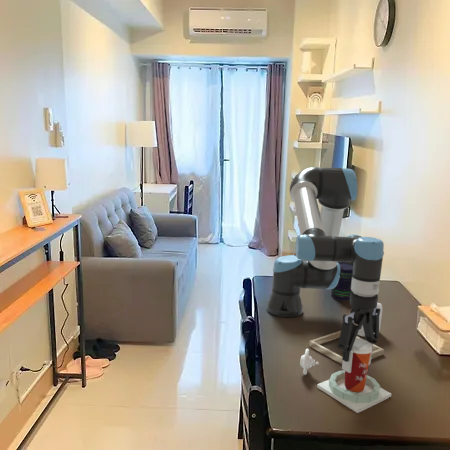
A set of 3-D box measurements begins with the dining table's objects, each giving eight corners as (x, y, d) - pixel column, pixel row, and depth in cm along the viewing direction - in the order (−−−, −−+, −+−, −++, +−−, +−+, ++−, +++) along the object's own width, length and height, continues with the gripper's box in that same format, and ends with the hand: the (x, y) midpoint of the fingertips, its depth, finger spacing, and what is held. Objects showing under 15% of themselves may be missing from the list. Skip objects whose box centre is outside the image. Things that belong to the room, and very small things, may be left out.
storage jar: (335, 291, 221) (338, 261, 218) (355, 296, 215) (358, 266, 212) (327, 297, 213) (330, 266, 210) (347, 302, 208) (350, 270, 204)
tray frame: (308, 346, 163) (309, 340, 163) (342, 334, 174) (343, 329, 173) (349, 368, 149) (349, 362, 149) (383, 354, 159) (383, 349, 159)
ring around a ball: (300, 366, 149) (302, 343, 147) (318, 369, 148) (320, 346, 146) (298, 378, 141) (300, 354, 140) (316, 381, 140) (319, 357, 139)
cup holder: (316, 387, 137) (317, 378, 136) (350, 373, 146) (350, 365, 145) (357, 413, 125) (358, 403, 125) (391, 396, 134) (392, 387, 133)
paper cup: (363, 397, 130) (368, 352, 127) (337, 388, 134) (341, 344, 131) (371, 384, 137) (376, 341, 134) (345, 376, 141) (349, 334, 137)
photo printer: (372, 328, 181) (375, 298, 178) (381, 332, 177) (385, 302, 175) (354, 333, 175) (357, 303, 173) (363, 338, 172) (367, 307, 169)
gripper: (350, 303, 120) (342, 382, 125) (398, 290, 132) (389, 362, 137) (328, 294, 126) (321, 370, 131) (376, 282, 138) (368, 352, 143)
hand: (356, 366), depth 134 cm, fingers open, 8 cm apart
